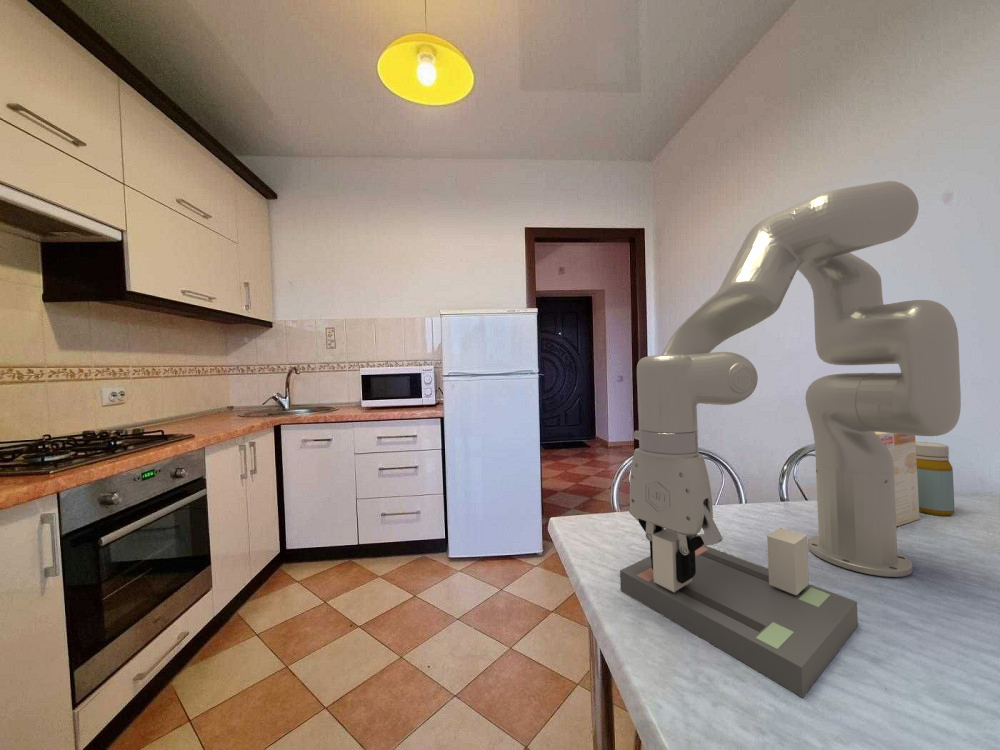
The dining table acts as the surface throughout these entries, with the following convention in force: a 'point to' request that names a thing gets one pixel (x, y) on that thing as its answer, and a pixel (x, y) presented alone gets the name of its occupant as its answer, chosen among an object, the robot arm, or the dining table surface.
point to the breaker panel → (752, 616)
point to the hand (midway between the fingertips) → (672, 572)
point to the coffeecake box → (903, 475)
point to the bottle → (934, 479)
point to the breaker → (788, 560)
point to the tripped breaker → (666, 559)
